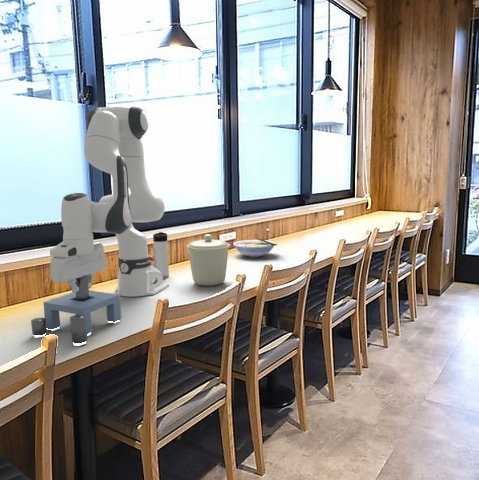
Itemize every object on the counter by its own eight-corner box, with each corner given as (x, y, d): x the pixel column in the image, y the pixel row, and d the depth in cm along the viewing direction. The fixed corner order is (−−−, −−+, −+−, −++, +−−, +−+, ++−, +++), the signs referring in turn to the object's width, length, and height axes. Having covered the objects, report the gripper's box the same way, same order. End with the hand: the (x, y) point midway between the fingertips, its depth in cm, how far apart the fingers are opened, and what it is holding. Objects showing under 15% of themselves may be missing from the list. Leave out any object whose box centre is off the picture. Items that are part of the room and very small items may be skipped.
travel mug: (169, 275, 213) (168, 232, 210) (168, 278, 206) (166, 234, 203) (156, 275, 213) (154, 232, 210) (153, 279, 206) (151, 234, 203)
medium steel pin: (80, 340, 135) (78, 313, 134) (90, 342, 133) (87, 315, 132) (69, 345, 132) (66, 317, 130) (78, 347, 130) (76, 319, 128)
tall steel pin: (83, 315, 150) (80, 272, 147) (93, 317, 148) (90, 274, 146) (74, 319, 146) (71, 275, 144) (84, 320, 144) (81, 276, 142)
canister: (204, 276, 210) (202, 230, 207) (238, 281, 201) (237, 232, 197) (179, 285, 195) (177, 235, 191) (215, 291, 186) (213, 238, 182)
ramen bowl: (227, 253, 262) (227, 239, 261) (265, 251, 269) (265, 237, 267) (241, 262, 238) (241, 246, 237) (282, 259, 245) (282, 243, 244)
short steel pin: (40, 332, 142) (39, 316, 141) (49, 334, 140) (48, 318, 139) (29, 337, 138) (28, 320, 138) (39, 339, 137) (37, 322, 136)
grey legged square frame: (83, 315, 158) (82, 289, 156) (121, 321, 151) (119, 294, 149) (45, 330, 144) (43, 302, 142) (84, 338, 137) (82, 308, 135)
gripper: (95, 240, 154) (97, 281, 156) (45, 251, 136) (48, 297, 138) (110, 241, 151) (112, 283, 153) (60, 253, 133) (64, 299, 135)
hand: (81, 290), depth 145 cm, fingers closed on tall steel pin, 4 cm apart
